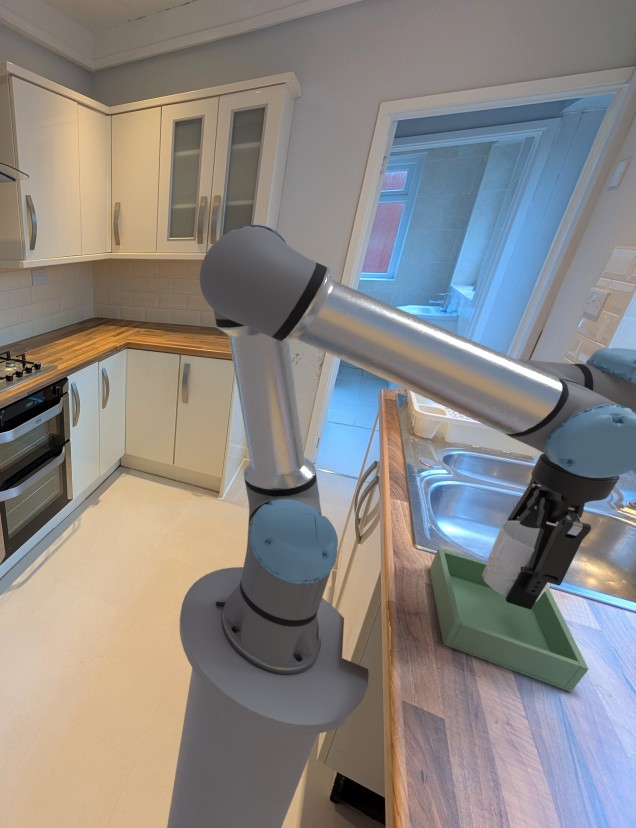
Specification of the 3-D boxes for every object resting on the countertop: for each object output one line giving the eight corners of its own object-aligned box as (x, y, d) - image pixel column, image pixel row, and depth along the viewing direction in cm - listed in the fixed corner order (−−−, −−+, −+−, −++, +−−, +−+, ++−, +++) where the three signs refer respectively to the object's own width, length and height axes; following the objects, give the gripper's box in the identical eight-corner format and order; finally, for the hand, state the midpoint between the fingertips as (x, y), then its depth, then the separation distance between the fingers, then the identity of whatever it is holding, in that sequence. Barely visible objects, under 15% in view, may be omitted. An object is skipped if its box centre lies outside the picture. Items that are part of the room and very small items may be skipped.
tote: (442, 644, 67) (454, 622, 65) (429, 568, 82) (438, 548, 79) (571, 692, 60) (588, 669, 58) (531, 600, 75) (544, 579, 73)
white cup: (487, 561, 73) (511, 514, 68) (550, 592, 67) (581, 542, 62) (469, 581, 69) (494, 532, 64) (535, 615, 63) (567, 564, 58)
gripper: (661, 512, 48) (567, 647, 58) (588, 438, 64) (523, 554, 74) (569, 492, 52) (495, 623, 61) (521, 427, 68) (468, 539, 77)
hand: (510, 585), depth 67 cm, fingers closed on white cup, 8 cm apart
